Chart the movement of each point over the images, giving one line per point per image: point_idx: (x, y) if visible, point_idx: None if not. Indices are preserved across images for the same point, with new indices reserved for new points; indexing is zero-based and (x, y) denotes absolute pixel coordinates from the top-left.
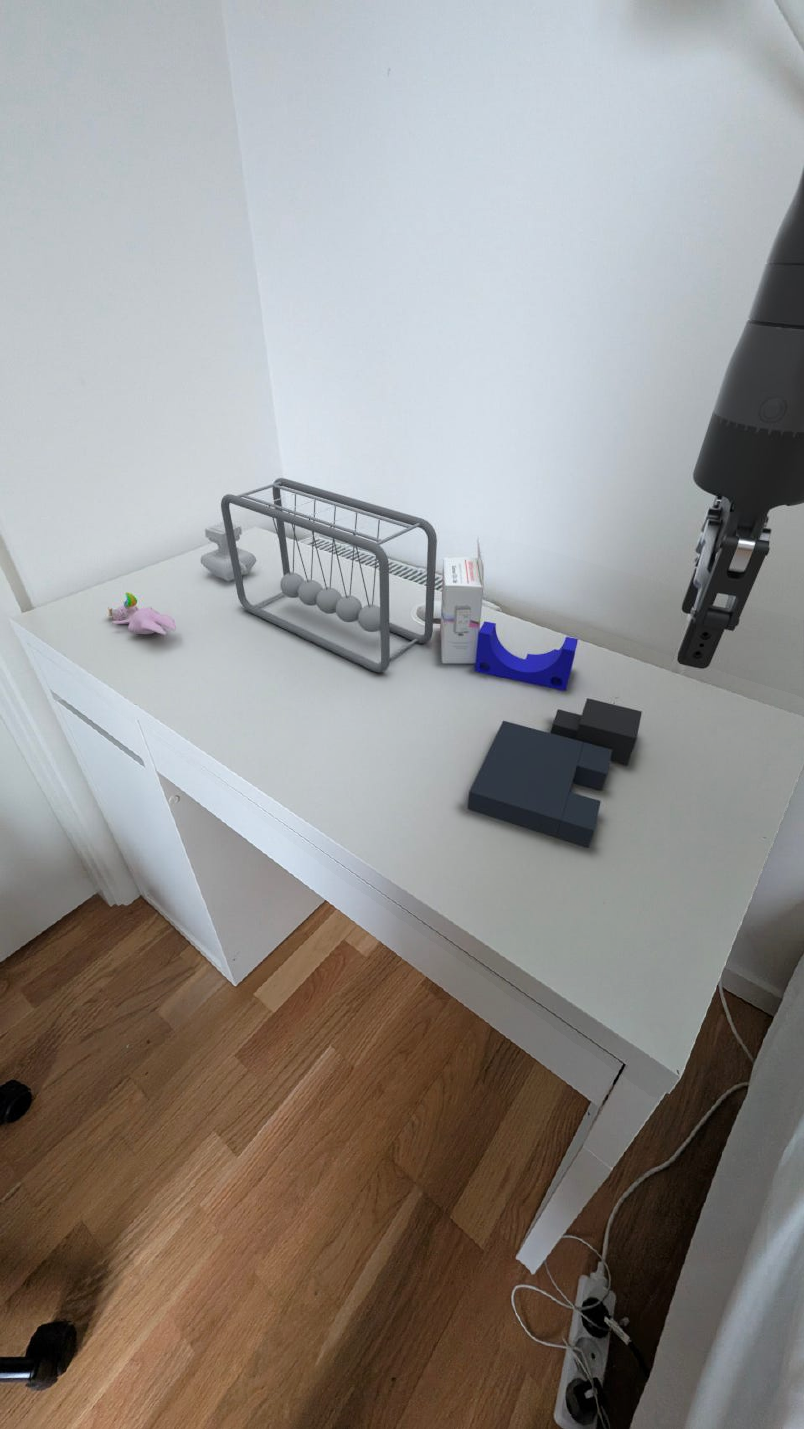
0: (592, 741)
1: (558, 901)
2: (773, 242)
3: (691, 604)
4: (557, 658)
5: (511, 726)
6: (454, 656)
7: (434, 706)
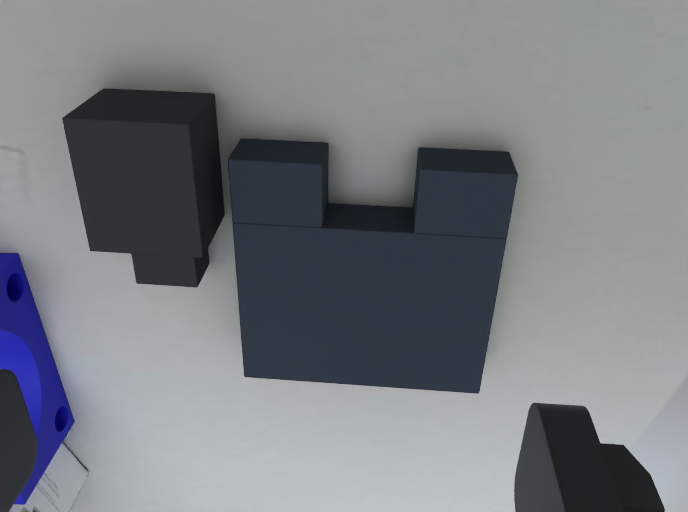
0: (211, 200)
1: (659, 188)
2: None
3: (6, 472)
4: None
5: (256, 361)
6: (68, 472)
7: (225, 457)
